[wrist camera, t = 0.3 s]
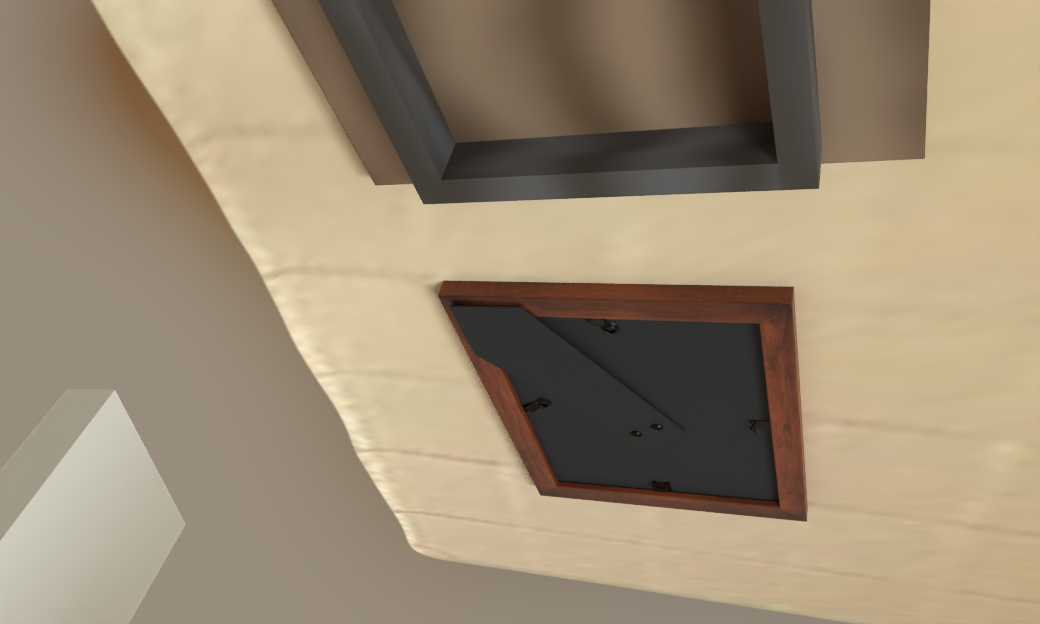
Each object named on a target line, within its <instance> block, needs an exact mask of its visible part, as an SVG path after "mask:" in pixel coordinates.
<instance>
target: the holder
mask: <svg viewBox="0 0 1040 624" xmlns="http://www.w3.org/2000/svg"><path fill="white" fill-rule="evenodd" d="M272 1H273V3H274V5H275V7H276V9H277V10H278V12H279V14H280V16H281V18H282V19H283V21H284V23H285V25H286V27H287V28H288V30H289V32H290V34H291V35H292V37H293V39H294V41H295V43H296V44H297V46H298V48H299V50H300V52H301V53H302V55H303V57H304V59H305V60H306V62H307V64H308V66H309V68H310V69H311V71H312V73H313V75H314V77H315V78H316V80H317V82H318V84H319V85H320V87H321V89H322V91H323V93H324V94H325V96H326V98H327V100H328V102H329V103H330V105H331V107H332V109H333V110H334V112H335V114H336V116H337V118H338V119H339V121H340V123H341V125H342V127H343V128H344V130H345V132H346V134H347V135H348V137H349V139H350V141H351V143H352V144H353V146H354V148H355V150H356V152H357V153H358V155H359V157H360V159H361V160H362V162H363V164H364V166H365V168H366V169H367V171H368V173H369V175H370V177H371V178H372V180H373V182H374V184H375V185H394V184H413V185H414V187H415V188H416V190H417V192H418V194H419V196H420V198H421V200H422V202H423V204H442V203H467V202H493V201H518V200H543V199H568V198H594V197H619V196H644V195H670V194H695V193H720V192H746V191H771V190H796V189H819V181H820V167H821V164H824V163H844V162H865V161H885V160H906V159H925V135H926V107H927V79H928V51H929V23H930V0H272Z"/></svg>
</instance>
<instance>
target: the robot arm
mask: <svg viewBox="0 0 1040 624" xmlns="http://www.w3.org/2000/svg"><path fill="white" fill-rule="evenodd" d="M184 526H185V522H184V520H183V519H182V517H181V515H180V513H179V511H178V509H177V507H176V505H175V503H174V502H173V500H172V498H171V496H170V494H169V492H168V490H167V488H166V486H165V484H164V483H163V480H162V479H161V477H160V475H159V473H158V471H157V469H156V467H155V465H154V463H153V461H152V460H151V458H150V456H149V454H148V452H147V450H146V448H145V446H144V444H143V443H142V441H141V439H140V437H139V435H138V433H137V431H136V429H135V427H134V425H133V423H132V422H131V420H130V418H129V416H128V414H127V412H126V410H125V408H124V406H123V404H122V403H121V401H120V399H119V397H118V395H117V393H116V391H115V390H66V391H65V392H64V393H63V395H62V396H61V397H60V398H59V400H58V401H57V402H56V403H55V405H54V406H53V407H52V408H51V409H50V411H49V412H48V413H47V414H46V415H45V417H44V418H43V419H42V421H41V422H40V423H39V424H38V425H37V426H36V428H35V429H34V430H33V431H32V433H31V434H30V435H29V436H28V437H27V439H26V440H25V441H24V442H23V444H22V445H21V446H20V447H19V449H18V450H17V451H16V452H15V453H14V455H13V456H12V457H11V458H10V459H9V461H8V462H7V463H6V464H5V465H4V467H3V468H2V469H1V470H0V624H129V622H130V620H131V619H132V617H133V615H134V613H135V612H136V610H137V608H138V606H139V605H140V603H141V601H142V599H143V598H144V596H145V594H146V592H147V590H148V589H149V587H150V585H151V584H152V582H153V580H154V579H155V577H156V575H157V573H158V571H159V570H160V568H161V566H162V564H163V563H164V561H165V559H166V558H167V556H168V554H169V552H170V551H171V549H172V547H173V545H174V544H175V542H176V540H177V538H178V536H179V535H180V533H181V532H182V529H183V528H184Z"/></svg>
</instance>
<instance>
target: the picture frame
mask: <svg viewBox="0 0 1040 624" xmlns="http://www.w3.org/2000/svg"><path fill="white" fill-rule="evenodd" d="M438 296H439V298H440V300H441V302H442V304H443V306H444V308H445V310H446V312H447V314H448V316H449V318H450V320H451V322H452V324H453V326H454V328H455V330H456V332H457V333H458V335H459V337H460V339H461V341H462V343H463V345H464V347H465V349H466V351H467V353H468V355H469V357H470V359H471V361H472V363H473V365H474V367H475V369H476V370H477V372H478V374H479V376H480V378H481V380H482V382H483V384H484V386H485V388H486V390H487V392H488V394H489V396H490V398H491V400H492V402H493V404H494V406H495V407H496V409H497V411H498V413H499V415H500V417H501V419H502V421H503V423H504V425H505V427H506V429H507V431H508V433H509V435H510V437H511V439H512V441H513V443H514V444H515V446H516V448H517V450H518V452H519V454H520V456H521V458H522V460H523V462H524V464H525V466H526V468H527V470H528V472H529V474H530V476H531V478H532V480H533V481H534V483H535V485H536V487H537V489H538V491H539V493H540V495H543V496H553V497H563V498H573V499H583V500H593V501H604V502H614V503H624V504H634V505H644V506H654V507H664V508H674V509H685V510H695V511H705V512H715V513H725V514H735V515H745V516H755V517H765V518H776V519H786V520H796V521H806V522H807V509H808V507H807V491H806V475H805V460H804V444H803V428H802V412H801V396H800V381H799V365H798V349H797V333H796V317H795V302H794V287H770V286H714V285H657V284H601V283H545V282H489V281H443V284H442V287H441V290H440V292H439V295H438Z"/></svg>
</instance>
